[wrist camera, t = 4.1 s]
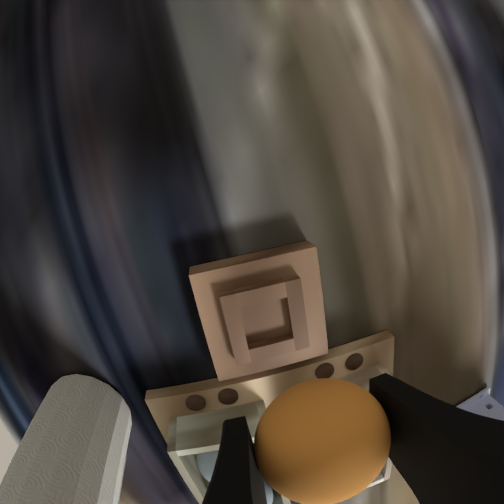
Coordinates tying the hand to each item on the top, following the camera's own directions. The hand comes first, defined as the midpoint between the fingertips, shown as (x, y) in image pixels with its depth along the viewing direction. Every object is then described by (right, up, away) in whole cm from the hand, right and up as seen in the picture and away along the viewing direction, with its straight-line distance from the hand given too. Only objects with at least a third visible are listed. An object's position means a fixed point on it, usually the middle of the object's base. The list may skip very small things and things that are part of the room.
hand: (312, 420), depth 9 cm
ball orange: (0, 0, -1) cm, 1 cm away
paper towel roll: (-13, -6, +9) cm, 17 cm away
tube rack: (+1, -8, +12) cm, 14 cm away
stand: (-1, +2, +9) cm, 9 cm away
